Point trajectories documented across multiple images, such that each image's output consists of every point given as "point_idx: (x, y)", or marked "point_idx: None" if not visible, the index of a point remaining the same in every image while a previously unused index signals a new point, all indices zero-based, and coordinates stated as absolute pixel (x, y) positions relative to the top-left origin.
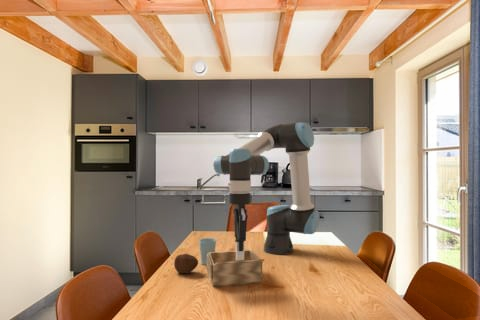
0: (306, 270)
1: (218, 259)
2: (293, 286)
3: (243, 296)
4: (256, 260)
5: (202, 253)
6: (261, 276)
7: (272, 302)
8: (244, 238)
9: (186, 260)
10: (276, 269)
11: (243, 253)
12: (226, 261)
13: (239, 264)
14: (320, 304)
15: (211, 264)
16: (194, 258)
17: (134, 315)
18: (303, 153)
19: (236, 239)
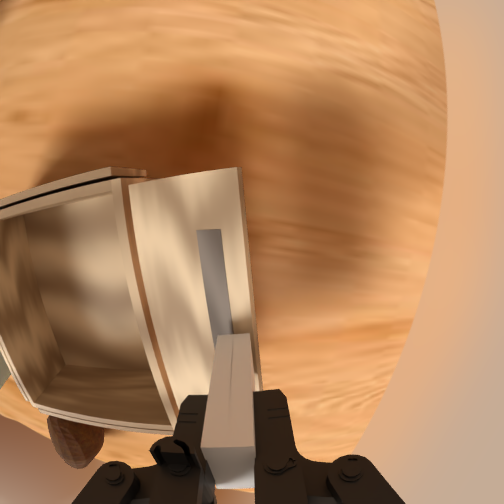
0: (77, 3)
1: (32, 358)
2: (220, 49)
3: (297, 274)
4: (244, 235)
5: (1, 386)
6: (145, 174)
7: (366, 172)
8: (375, 483)
9: (89, 453)
10: (36, 103)
11: (251, 367)
12: (26, 322)
13: (147, 316)
14: (386, 31)
15: (172, 432)
16: (65, 433)
17: None
18: None
19: (214, 495)
